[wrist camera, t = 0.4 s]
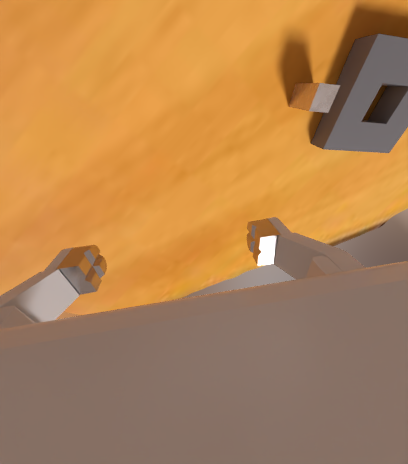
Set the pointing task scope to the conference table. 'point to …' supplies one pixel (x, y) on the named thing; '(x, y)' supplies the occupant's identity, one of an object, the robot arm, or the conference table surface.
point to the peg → (313, 96)
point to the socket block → (368, 98)
